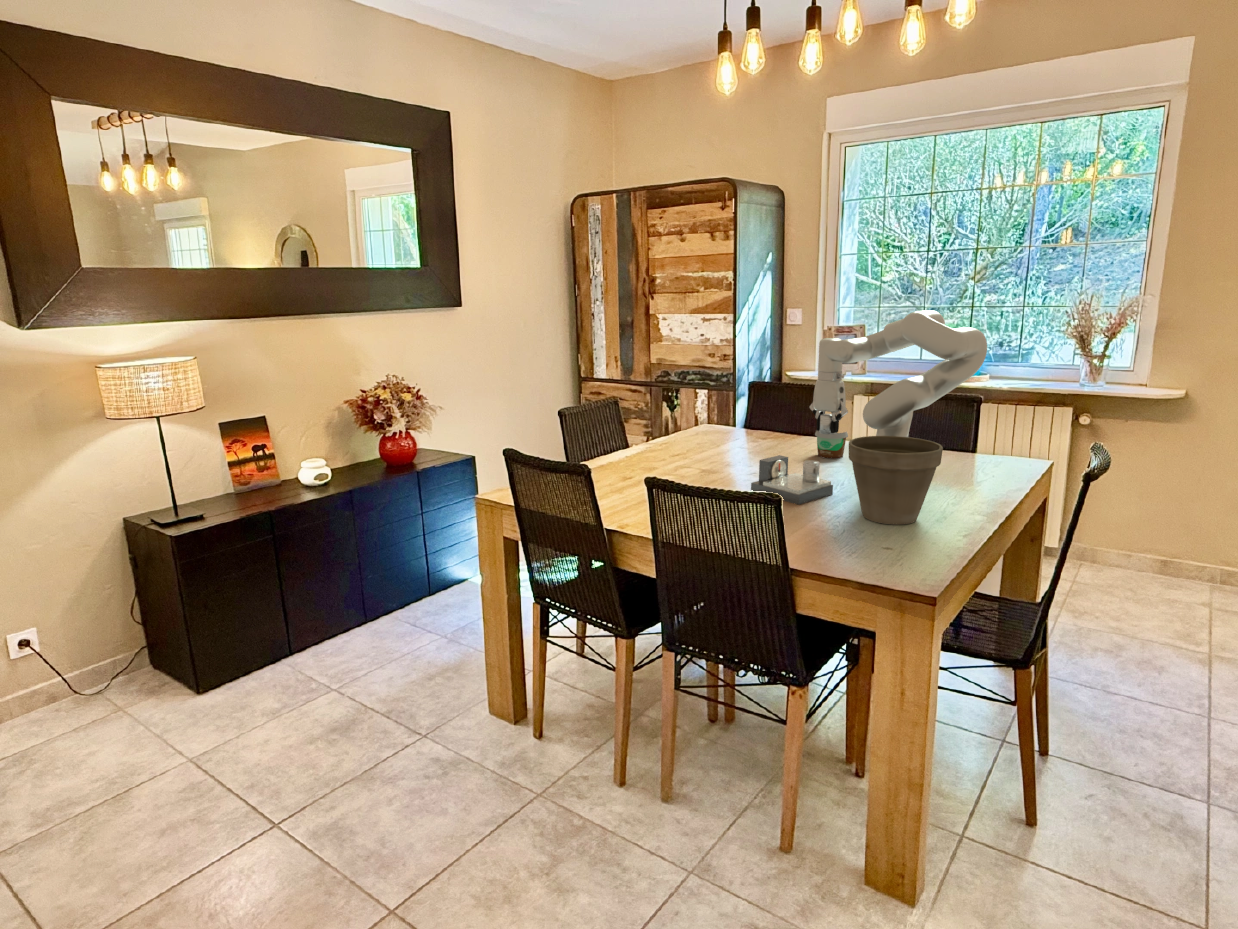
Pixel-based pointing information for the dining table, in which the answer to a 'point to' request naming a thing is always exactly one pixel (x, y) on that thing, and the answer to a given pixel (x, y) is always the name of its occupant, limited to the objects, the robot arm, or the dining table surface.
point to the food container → (831, 444)
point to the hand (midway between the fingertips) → (827, 430)
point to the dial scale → (788, 482)
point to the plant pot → (893, 475)
